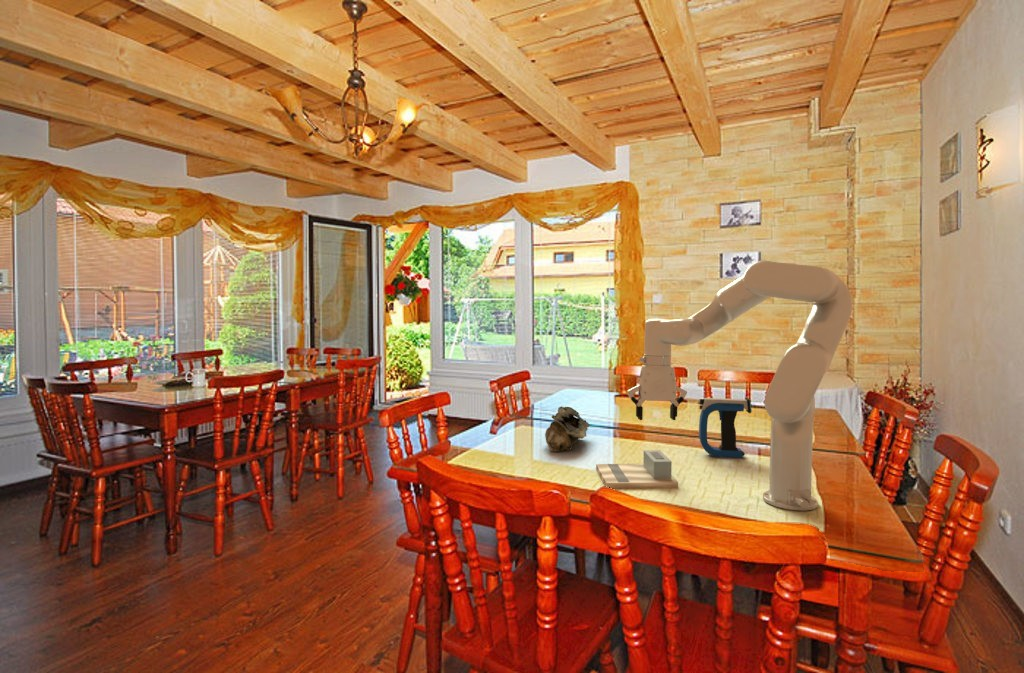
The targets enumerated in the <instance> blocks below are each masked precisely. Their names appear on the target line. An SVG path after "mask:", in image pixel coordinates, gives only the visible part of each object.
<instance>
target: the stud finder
mask: <svg viewBox="0 0 1024 673" xmlns="http://www.w3.org/2000/svg"><path fill="white" fill-rule="evenodd" d="M642 464H643V467H644V468H645V469H646V470H647V471H648V473H649V474H650V475H651V476H652V477H653V479H671V475H672V468H673V467H672V460H671V459H669V457H668V456H666V455H665V454H664V452H663V451H661V450H660V449H659V450H658V449H655V450H654V449H652V450H651V449H649V450H647V449H645V450H643V463H642Z"/></svg>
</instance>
